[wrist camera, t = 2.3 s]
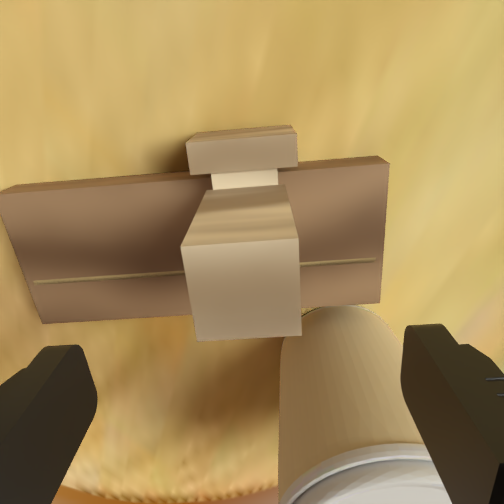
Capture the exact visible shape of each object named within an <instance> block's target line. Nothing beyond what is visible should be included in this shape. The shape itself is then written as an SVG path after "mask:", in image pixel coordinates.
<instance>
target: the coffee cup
mask: <svg viewBox="0 0 504 504" xmlns="http://www.w3.org/2000/svg"><path fill="white" fill-rule="evenodd" d="M301 324H302V336H286V337H285V338H284V341H283V344H282V348H281V360H280V398H279V454H278V492H279V493H278V500H279V502H278V503H279V504H452V502H451V500H450V498H449V496H448V494H447V491H446V489H445V487H444V485H443V483H442V481H441V479H440V476H439V474H438V472H437V470H436V468H435V466H434V463H433V461H432V459H431V457H430V455H429V453H428V450H427V448H426V446H425V444H424V442H423V440H422V438H421V435H420V433H419V431H418V429H417V427H416V425H415V422H414V420H413V418H412V416H411V414H410V412H409V409H408V407H407V405H406V403H405V400H404V397H403V394H402V389H401V382H400V373H401V363H402V353H403V345H402V344H401V342H400V341H399V339H398V338H397V337H396V335H395V334H394V332H393V331H392V330H391V328H390V327H389V326H388V324H387V323H386V322H385V321H384V320H383V319H382V318H381V317H379V316H378V315H377V314H375V313H374V312H372V311H370V310H368V309H365V308H363V307H359V306H355V305H342V306H326V307H320V308H317V309H315V310H313V311H311V312H309V313H307V314H306V315H304V316H302V317H301Z"/></svg>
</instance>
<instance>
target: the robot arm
mask: <svg viewBox="0 0 504 504" xmlns="http://www.w3.org/2000/svg"><path fill="white" fill-rule="evenodd" d="M400 382H401V389H402V394H403V397H404V400H405V403H406V405H407V407H408V409H409V412H410V414H411V416H412V418H413V420H414V422H415V425H416V427H417V429H418V431H419V433H420V435H421V438H422V440H423V442H424V444H425V446H426V448H427V450H428V453H429V455H430V457H431V459H432V461H433V463H434V466H435V468H436V470H437V472H438V474H439V476H440V479H441V481H442V483H443V485H444V487H445V489H446V491H447V494H448V496H449V498H450V500H451V502H452V504H504V374H503V373H502V371H501V370H500V369H499V368H498V367H497V365H496V364H495V363H494V362H493V361H492V360H491V359H490V358H489V357H487V356H486V355H484V354H483V353H481V352H480V351H478V350H477V349H475V348H474V347H472V346H471V345H469V344H461V345H459V344H458V343H457V342H456V341H455V339H454V338H453V337H452V335H451V334H450V333H449V331H448V330H447V329H446V328H445V326H443V325H442V324H426V325H409V326H407V327H406V329H405V333H404V343H403V353H402V363H401V373H400ZM96 408H97V391H96V388H95V385H94V382H93V379H92V376H91V373H90V370H89V367H88V363H87V360H86V357H85V354H84V352H83V349H82V348H81V347H80V346H79V345H60V346H47V347H44V348H43V349H42V350H41V351H40V352H39V353H38V355H37V356H36V357H35V358H34V359H33V361H32V362H31V363H30V364H29V366H28V367H27V368H24V369H22V370H20V371H19V372H18V373H16V374H15V375H14V376H12V377H11V378H10V379H8V380H7V381H6V382H4V383H3V384H1V386H0V504H51V503H52V501H53V499H54V497H55V495H56V493H57V491H58V488H59V487H60V485H61V483H62V481H63V479H64V477H65V475H66V473H67V470H68V468H69V466H70V464H71V462H72V460H73V458H74V456H75V454H76V452H77V450H78V448H79V446H80V444H81V442H82V440H83V438H84V436H85V434H86V432H87V430H88V428H89V426H90V424H91V422H92V420H93V418H94V416H95V413H96Z"/></svg>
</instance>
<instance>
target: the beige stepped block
mask: <svg viewBox="0 0 504 504" xmlns="http://www.w3.org/2000/svg"><path fill="white" fill-rule="evenodd" d="M186 150H187V156H188V163H189V169H190V175H198V174H210V173H211V178H212V186H213V190H206V193H205V195H204V197H203V199H202V201H201V203H200V206H199V208H198V210H197V212H196V214H195V216H194V218H193V221H192V223H191V225H190V227H189V229H188V231H187V234H186V236H185V238H184V240H183V242H182V244H181V246H180V247H181V253H182V258H183V264H184V270H185V275H186V281H187V286H188V292H189V298H190V303H191V309H192V314H193V320H194V326H195V331H196V337H197V342H200V341H217V340H235V339H252V338H269V337H286V336H302V324H301V295H300V265H299V238H298V234H297V230H296V226H295V222H294V218H293V214H292V210H291V207H290V203H289V199H288V195H287V191H286V187H285V184H281V185H278V171H277V168H285V167H298V155H297V133H296V132H295V130H294V129H293V128H292V126H291V125H282V126H270V127H259V128H247V129H235V130H223V131H212V132H200V133H196V134H195V135H194V136H193V137H192V138H191V139H189V140H188V141H187V142H186Z"/></svg>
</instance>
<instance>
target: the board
mask: <svg viewBox="0 0 504 504" xmlns="http://www.w3.org/2000/svg"><path fill="white" fill-rule="evenodd" d="M389 165H390V163H388V162H387V161H385V160H384V159H382V158H380V157H379V156H368V157H356V158H344V159H331V160H319V161H306V162H298V167H285V168H277V171H278V185H281V184H285V187H286V191H287V195H288V199H289V203H290V207H291V210H292V214H293V218H294V222H295V226H296V230H297V234H298V238H299V265H300V295H301V308H310V307H326V306H342V305H358V304H374V303H380V294H381V280H382V266H383V251H384V237H385V223H386V208H387V194H388V179H389ZM206 190H213V186H212V178H211V173H210V174H198V175H190V171H182V172H170V173H158V174H145V175H133V176H120V177H108V178H96V179H83V180H71V181H58V182H46V183H34V184H21V185H15V186H12V187H10V188H8V189H6V190H3V191H1V192H0V214H1V217H2V220H3V222H4V225H5V227H6V230H7V233H8V235H9V238H10V241H11V243H12V246H13V248H14V251H15V254H16V256H17V259H18V261H19V264H20V267H21V269H22V272H23V274H24V277H25V280H26V282H27V285H28V288H29V290H30V293H31V295H32V298H33V301H34V303H35V306H36V308H37V311H38V314H39V316H40V319H41V321H42V324H51V323H67V322H83V321H100V320H116V319H132V318H148V317H164V316H180V315H193V314H192V309H191V303H190V298H189V292H188V286H187V281H186V275H185V270H184V264H183V258H182V253H181V247H180V246H181V244H182V242H183V240H184V238H185V236H186V234H187V231H188V229H189V227H190V225H191V223H192V221H193V218H194V216H195V214H196V212H197V210H198V208H199V206H200V203H201V201H202V199H203V197H204V195H205V193H206Z"/></svg>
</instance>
